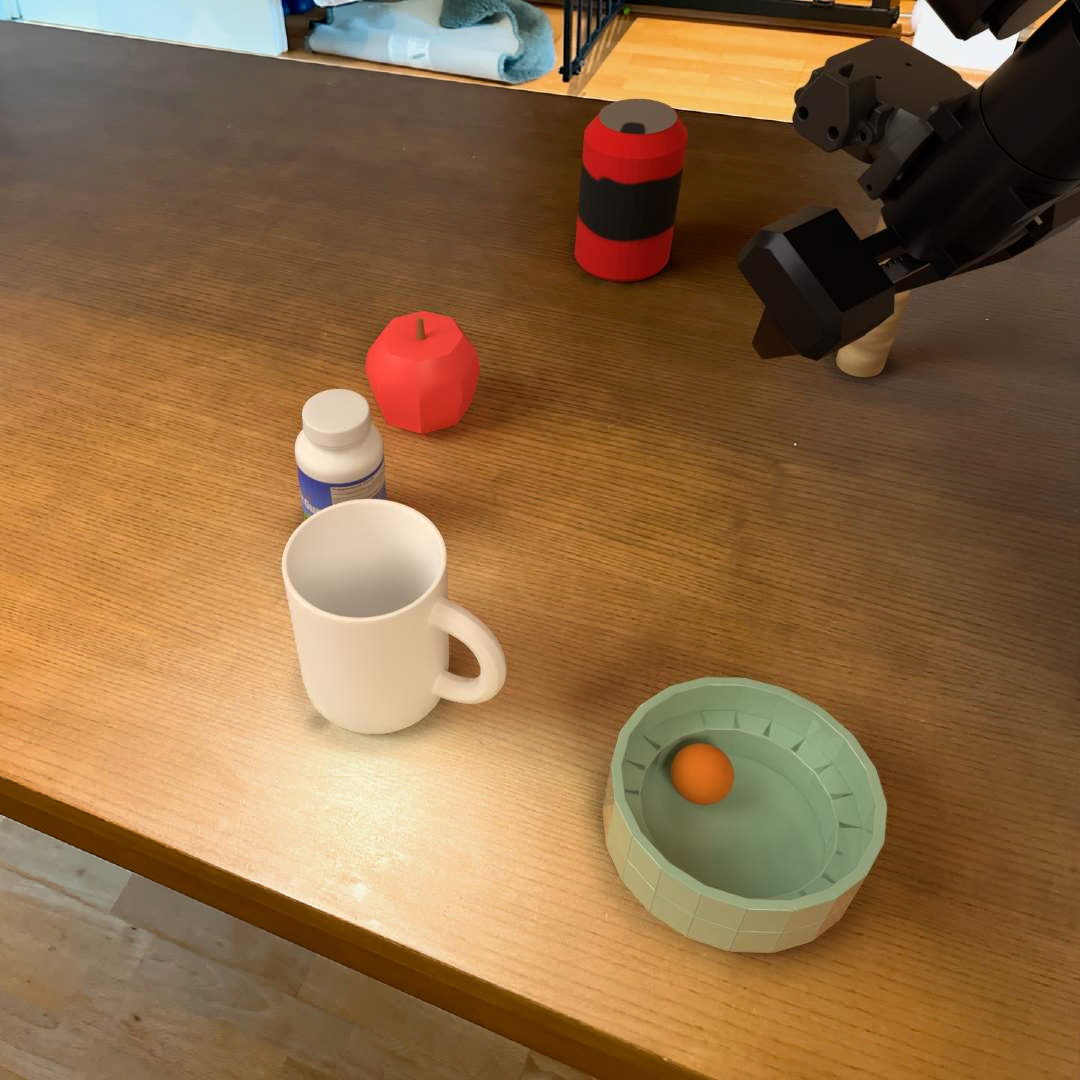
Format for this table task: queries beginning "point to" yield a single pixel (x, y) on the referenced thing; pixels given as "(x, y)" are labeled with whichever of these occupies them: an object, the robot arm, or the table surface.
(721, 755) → the bead
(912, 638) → the table surface
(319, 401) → the pill bottle
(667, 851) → the bowl
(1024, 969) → the table surface
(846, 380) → the table surface
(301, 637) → the mug
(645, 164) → the soda can
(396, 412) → the apple
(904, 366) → the table surface
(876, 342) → the stick
